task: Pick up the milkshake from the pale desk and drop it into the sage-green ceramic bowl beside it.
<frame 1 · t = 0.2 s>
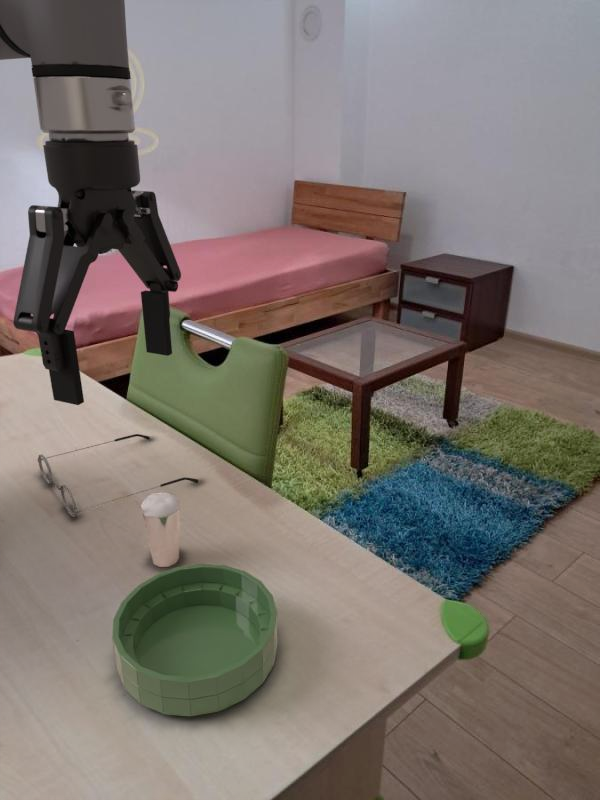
hand: (118, 375, 61), 28 cm above the table, tool pointing down, fingers open, 13 cm apart
milkshake: (162, 561, 79), on the table
bowl: (198, 652, 66), on the table
eyeglasses: (117, 478, 98), on the table
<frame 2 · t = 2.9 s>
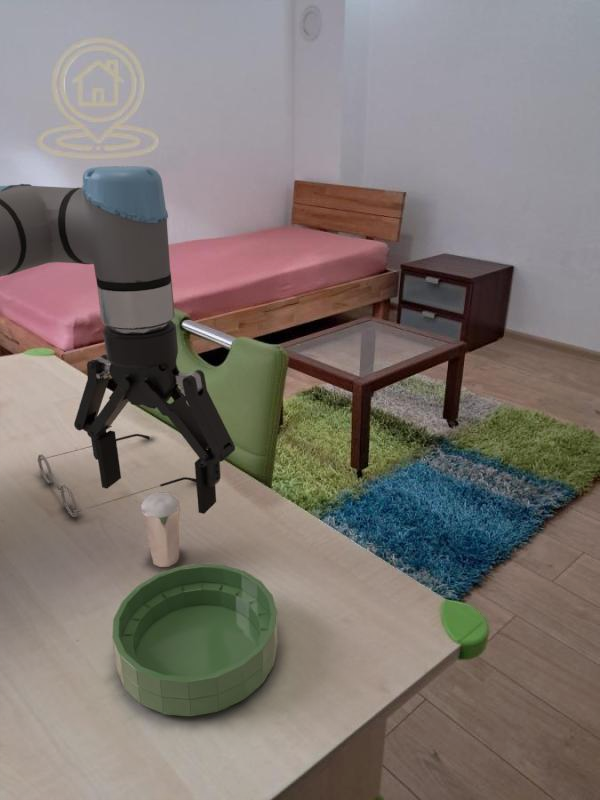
hand: (158, 494, 75), 10 cm above the table, tool pointing down, fingers open, 13 cm apart
nothing on the table moved.
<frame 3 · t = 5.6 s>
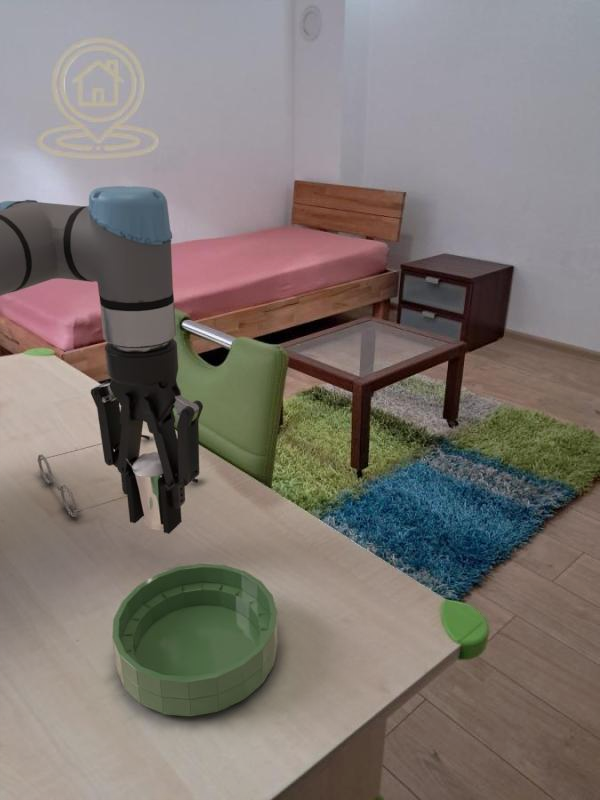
hand: (155, 521, 77), 6 cm above the table, tool pointing down, fingers closed on milkshake, 4 cm apart
milkshake: (155, 525, 77), point 5 cm above the table, touching gripper
everything else where it was.
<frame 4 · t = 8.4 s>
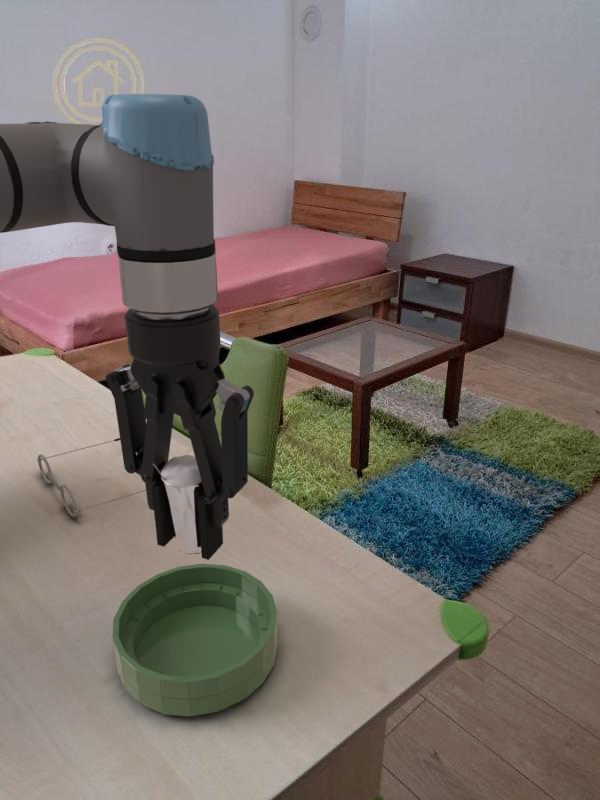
hand: (190, 543, 60), 14 cm above the table, tool pointing down, fingers closed on milkshake, 4 cm apart
milkshake: (190, 547, 61), point 13 cm above the table, touching gripper
everything else where it was.
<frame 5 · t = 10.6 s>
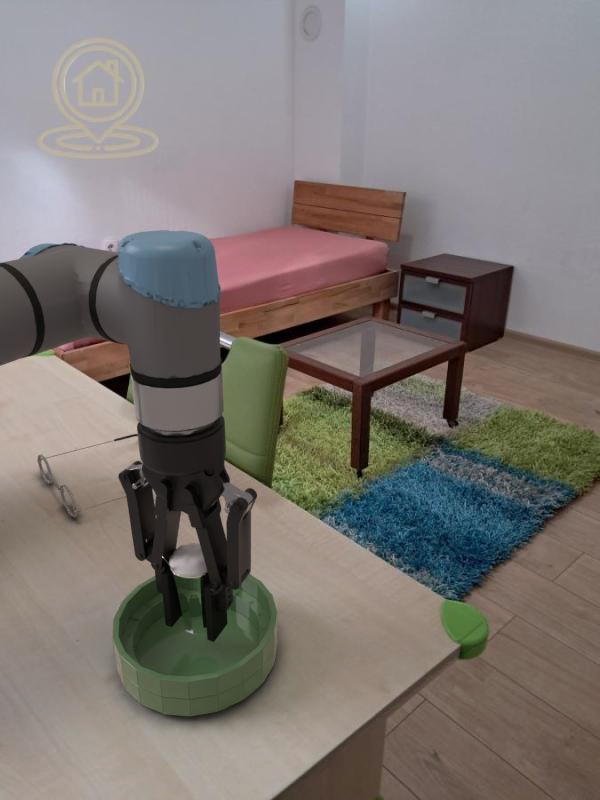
hand: (196, 624, 64), 4 cm above the table, tool pointing down, fingers closed on milkshake, 4 cm apart
milkshake: (196, 627, 64), point 3 cm above the table, touching gripper
everything else where it was.
when the fingers open (3 cm above the table, at t = 12.2 s): milkshake drops 2 cm, resting on bowl.
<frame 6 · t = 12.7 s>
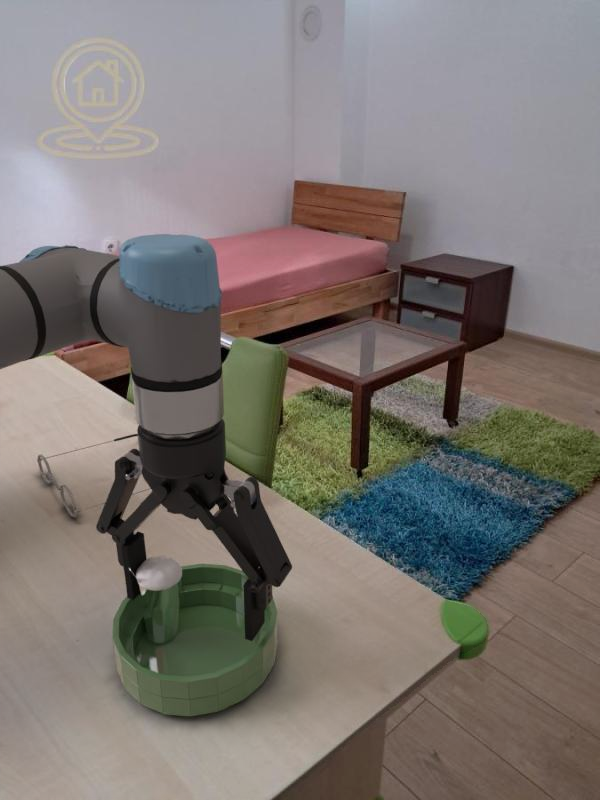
hand: (194, 610, 64), 6 cm above the table, tool pointing down, fingers open, 13 cm apart
milkshake: (158, 635, 67), point 1 cm above the table, touching bowl, gripper
everything else where it was.
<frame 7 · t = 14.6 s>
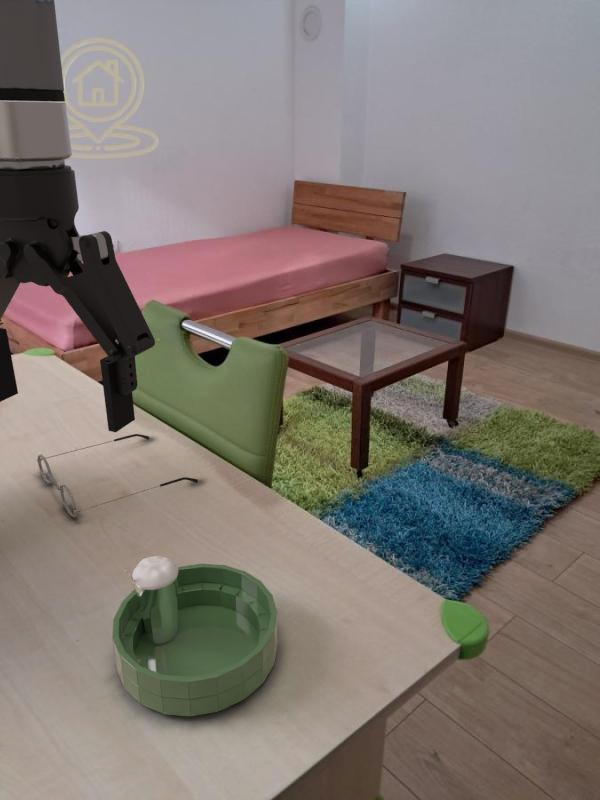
hand: (60, 411, 58), 26 cm above the table, tool pointing down, fingers open, 13 cm apart
milkshake: (158, 636, 67), resting on bowl
everything else where it was.
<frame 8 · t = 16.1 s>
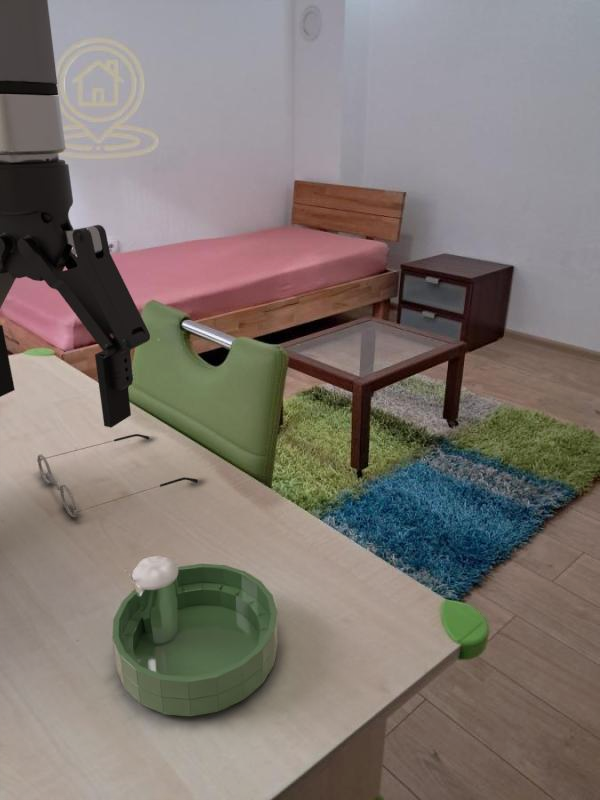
hand: (56, 407, 57), 27 cm above the table, tool pointing down, fingers open, 13 cm apart
nothing on the table moved.
at the end: milkshake inside the target area in the bowl (4.9 cm from its centre), point 0.4 cm above the bowl's base; the gripper is holding nothing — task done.
